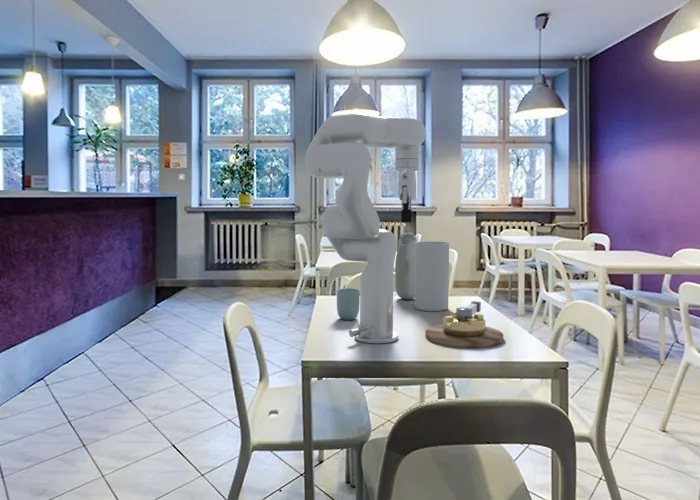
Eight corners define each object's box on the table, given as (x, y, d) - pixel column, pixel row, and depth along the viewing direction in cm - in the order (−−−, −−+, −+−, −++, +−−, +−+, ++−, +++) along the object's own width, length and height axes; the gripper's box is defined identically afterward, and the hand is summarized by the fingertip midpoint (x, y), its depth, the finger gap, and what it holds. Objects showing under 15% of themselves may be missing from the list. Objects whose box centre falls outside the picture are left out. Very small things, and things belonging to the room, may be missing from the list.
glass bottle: (393, 297, 201) (393, 231, 199) (417, 296, 202) (417, 231, 200) (397, 301, 192) (397, 232, 189) (421, 301, 192) (422, 232, 190)
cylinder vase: (451, 312, 172) (452, 243, 169) (416, 311, 172) (417, 243, 170) (444, 305, 184) (445, 241, 182) (412, 305, 184) (413, 241, 182)
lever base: (479, 353, 122) (479, 347, 121) (410, 337, 137) (410, 332, 137) (516, 336, 137) (516, 331, 137) (451, 324, 153) (451, 319, 152)
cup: (339, 316, 166) (339, 287, 165) (361, 316, 164) (361, 288, 163) (334, 321, 158) (334, 291, 157) (357, 322, 156) (357, 292, 156)
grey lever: (479, 338, 129) (479, 315, 128) (437, 333, 135) (437, 310, 134) (495, 323, 146) (496, 302, 145) (457, 319, 152) (458, 299, 151)
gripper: (416, 163, 144) (415, 223, 146) (420, 167, 159) (420, 221, 160) (391, 163, 146) (391, 222, 147) (398, 167, 160) (398, 221, 162)
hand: (406, 222), depth 154 cm, fingers closed
